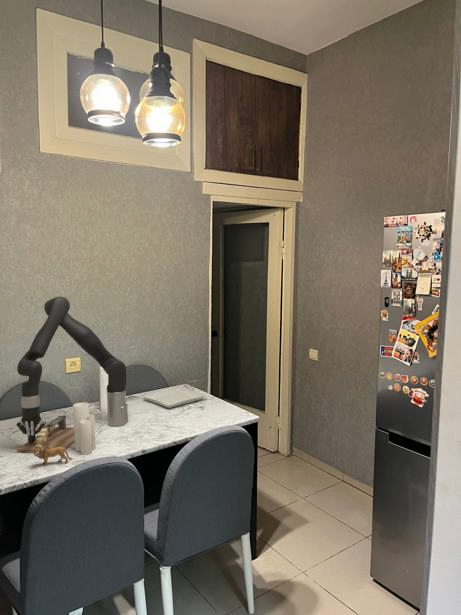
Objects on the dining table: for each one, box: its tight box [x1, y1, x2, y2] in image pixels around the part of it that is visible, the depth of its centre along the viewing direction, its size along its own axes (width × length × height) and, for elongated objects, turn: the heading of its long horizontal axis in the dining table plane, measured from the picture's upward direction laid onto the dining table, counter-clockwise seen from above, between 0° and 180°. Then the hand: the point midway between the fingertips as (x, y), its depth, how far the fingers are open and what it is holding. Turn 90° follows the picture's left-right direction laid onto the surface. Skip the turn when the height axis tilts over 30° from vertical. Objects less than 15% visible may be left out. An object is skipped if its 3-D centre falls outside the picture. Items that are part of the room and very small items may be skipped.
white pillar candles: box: [72, 401, 96, 456], centre depth 202 cm, size 11×7×20 cm, turn 46°
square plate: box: [142, 387, 206, 409], centre depth 274 cm, size 27×27×4 cm
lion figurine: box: [32, 444, 73, 467], centre depth 189 cm, size 15×5×9 cm, turn 115°
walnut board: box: [17, 415, 75, 454], centre depth 213 cm, size 20×28×8 cm
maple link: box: [36, 423, 50, 445], centre depth 211 cm, size 16×4×4 cm, turn 13°
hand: (31, 443), depth 205 cm, fingers closed
